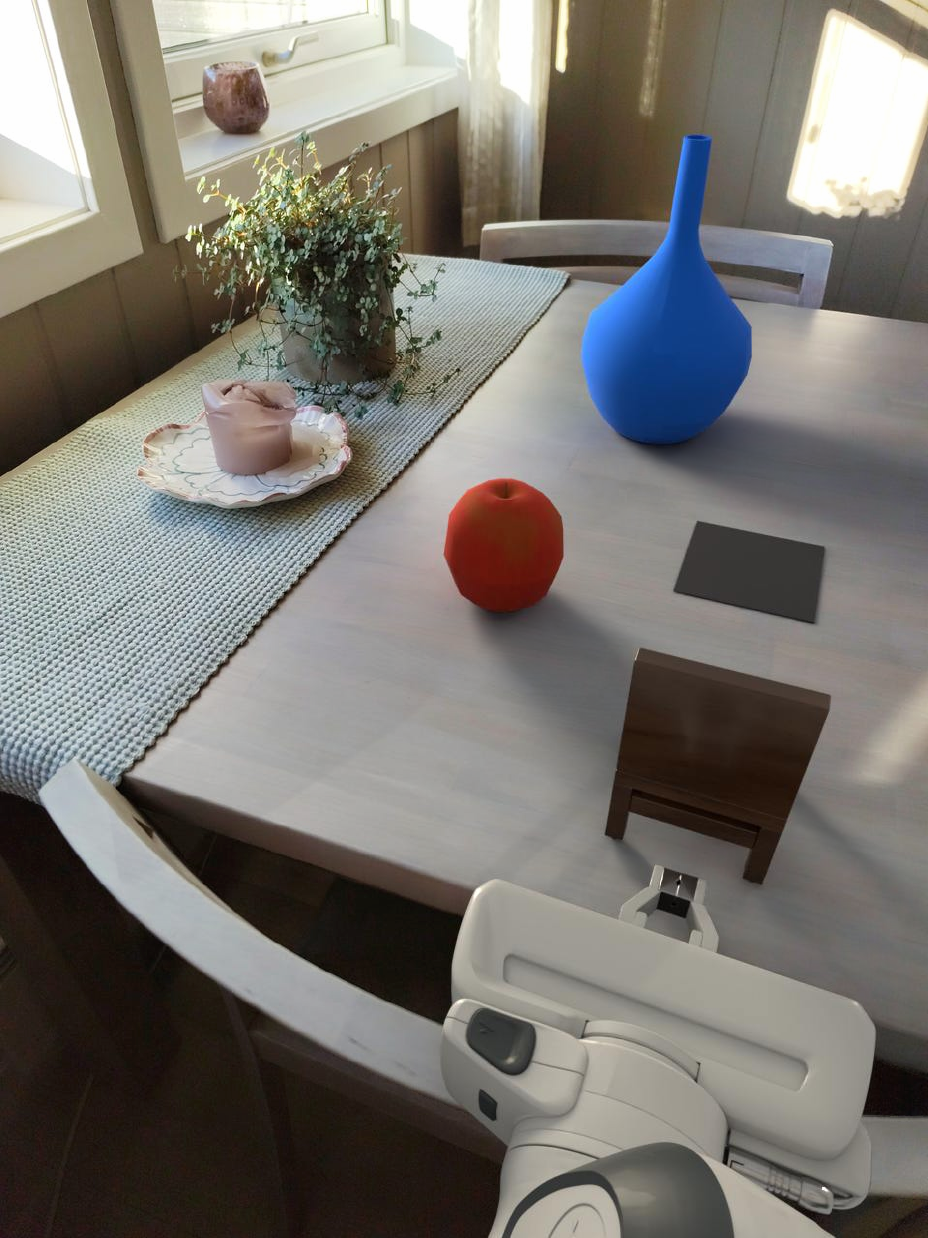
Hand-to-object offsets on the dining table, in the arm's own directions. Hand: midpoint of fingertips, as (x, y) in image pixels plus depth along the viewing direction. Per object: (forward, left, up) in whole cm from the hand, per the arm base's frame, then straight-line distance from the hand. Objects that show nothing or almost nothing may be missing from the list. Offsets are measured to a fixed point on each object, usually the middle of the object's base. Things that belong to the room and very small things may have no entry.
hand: (679, 878), depth 48 cm
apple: (+32, -10, -6) cm, 34 cm away
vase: (+49, -43, -6) cm, 65 cm away
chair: (+6, -8, -5) cm, 11 cm away
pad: (+23, -31, -5) cm, 39 cm away
